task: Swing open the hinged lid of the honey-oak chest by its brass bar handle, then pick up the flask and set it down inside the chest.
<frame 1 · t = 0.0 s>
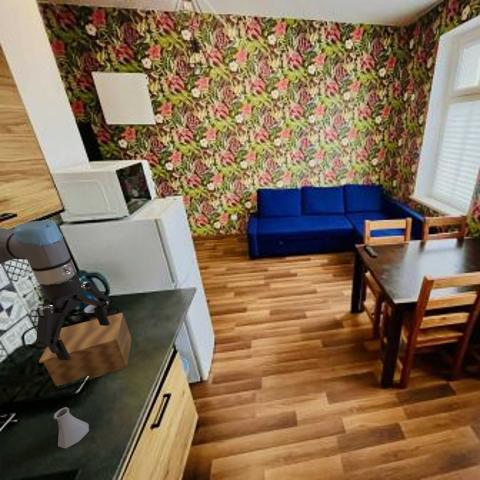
hand: (86, 340, 79), 26 cm above the kitchen counter, tool pointing down, fingers open, 13 cm apart
flask: (74, 435, 79), on the kitchen counter
chest: (99, 361, 103), on the kitchen counter
coffee mug: (106, 325, 123), on the kitchen counter
lid: (83, 329, 97), point 16 cm above the kitchen counter, hinge at 0.0°
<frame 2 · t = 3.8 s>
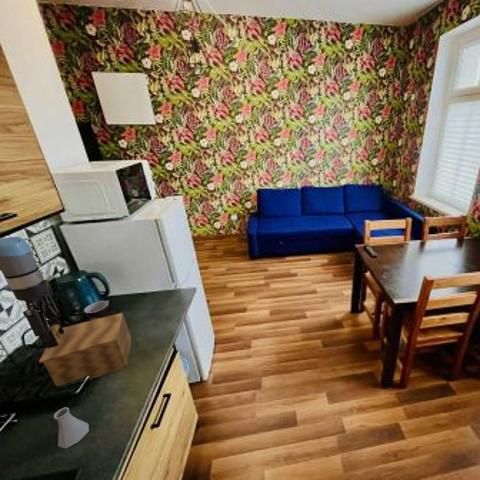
hand: (56, 339, 94), 15 cm above the kitchen counter, tool pointing down, fingers closed on lid, 6 cm apart
lid: (83, 329, 97), point 16 cm above the kitchen counter, hinge at 0.0°, touching gripper
everything else where it was.
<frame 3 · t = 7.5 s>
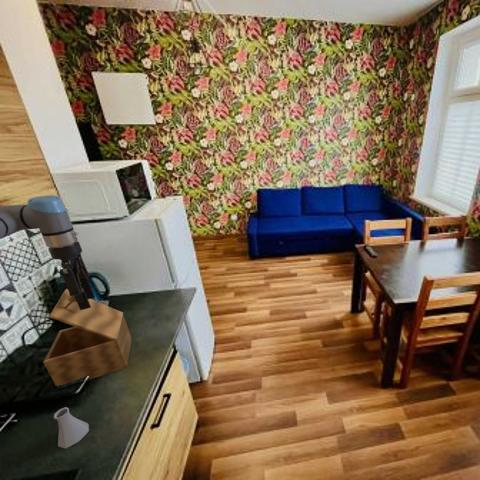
hand: (88, 303, 95), 26 cm above the kitchen counter, tool pointing down, fingers closed on lid, 6 cm apart
lid: (96, 308, 97), point 23 cm above the kitchen counter, hinge at 49.8°, touching gripper
everything else where it was.
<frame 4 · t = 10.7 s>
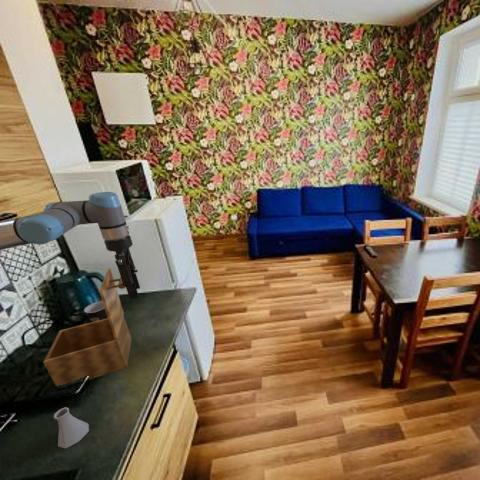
hand: (135, 293, 101), 26 cm above the kitchen counter, tool pointing down, fingers open, 6 cm apart
lid: (121, 301, 100), point 24 cm above the kitchen counter, hinge at 92.1°
everything else where it was.
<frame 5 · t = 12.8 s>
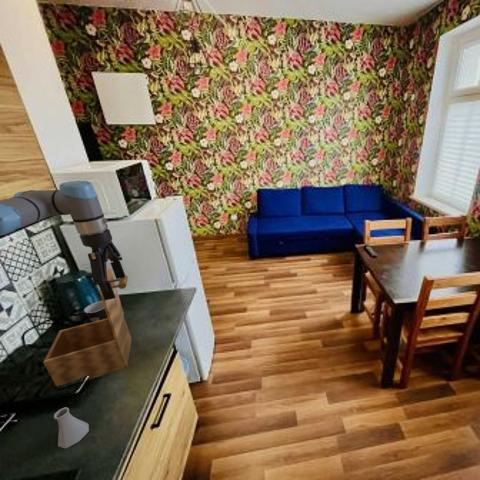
hand: (116, 287, 92), 33 cm above the kitchen counter, tool pointing down, fingers open, 13 cm apart
lid: (121, 301, 100), point 24 cm above the kitchen counter, hinge at 92.1°, touching gripper
everything else where it was.
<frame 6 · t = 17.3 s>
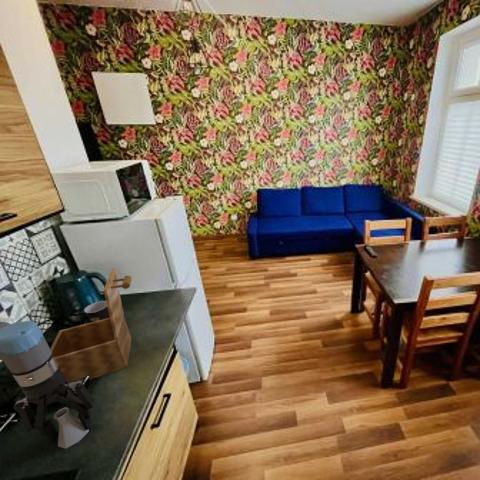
hand: (72, 431, 78), 2 cm above the kitchen counter, tool pointing down, fingers closed on flask, 7 cm apart
flask: (74, 435, 79), on the kitchen counter, touching gripper
lid: (123, 301, 100), point 24 cm above the kitchen counter, hinge at 95.4°
everything else where it was.
when the fingers open (3 cm above the kitchen counter, at t = 27.1 s): flask stays where it is, resting on chest.
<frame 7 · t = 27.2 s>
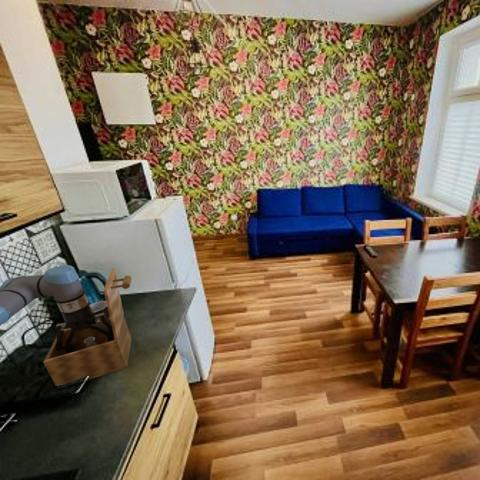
hand: (95, 354, 102), 4 cm above the kitchen counter, tool pointing down, fingers open, 11 cm apart
flask: (98, 360, 103), point 1 cm above the kitchen counter, touching chest
everything else where it was.
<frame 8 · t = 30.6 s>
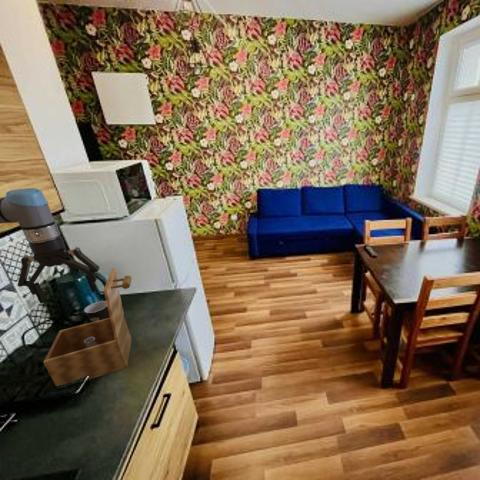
hand: (69, 295, 91), 31 cm above the kitchen counter, tool pointing down, fingers open, 13 cm apart
nothing on the kitchen counter moved.
at the end: lid at +96° (first picture: +0°); flask inside the target area in the chest (0.0 cm from its centre), point 0.8 cm above the chest's base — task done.
